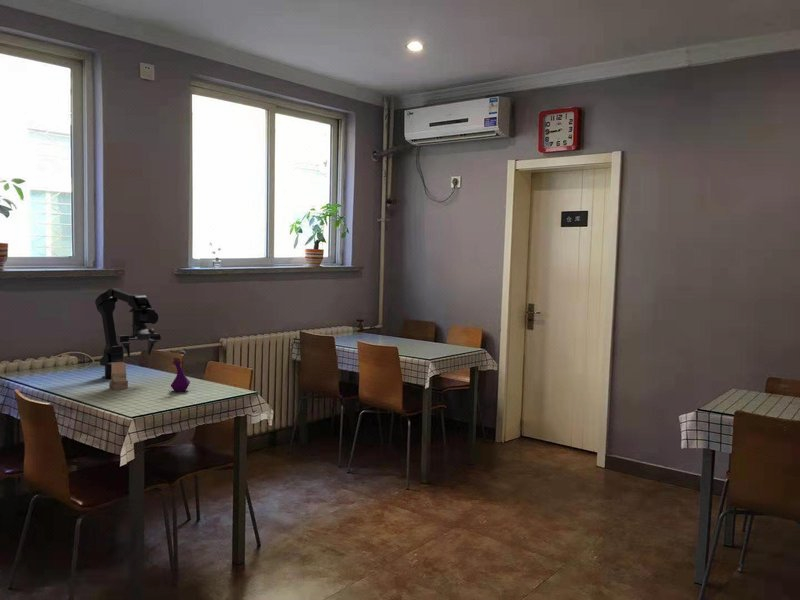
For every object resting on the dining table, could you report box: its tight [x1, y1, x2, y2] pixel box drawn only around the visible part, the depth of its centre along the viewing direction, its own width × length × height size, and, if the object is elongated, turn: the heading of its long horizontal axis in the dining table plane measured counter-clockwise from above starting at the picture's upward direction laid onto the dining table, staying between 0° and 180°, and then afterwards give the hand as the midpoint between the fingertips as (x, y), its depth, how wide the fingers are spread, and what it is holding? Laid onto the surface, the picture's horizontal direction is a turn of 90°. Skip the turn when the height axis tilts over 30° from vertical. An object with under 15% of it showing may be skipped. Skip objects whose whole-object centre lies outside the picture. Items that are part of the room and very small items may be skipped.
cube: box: [112, 361, 127, 374], centre depth 300 cm, size 4×4×4 cm
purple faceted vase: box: [170, 349, 191, 393], centre depth 297 cm, size 8×8×18 cm
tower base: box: [108, 379, 129, 391], centre depth 300 cm, size 6×6×4 cm
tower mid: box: [110, 372, 127, 382], centre depth 300 cm, size 5×5×4 cm
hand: (139, 356), depth 312 cm, fingers open, 9 cm apart
